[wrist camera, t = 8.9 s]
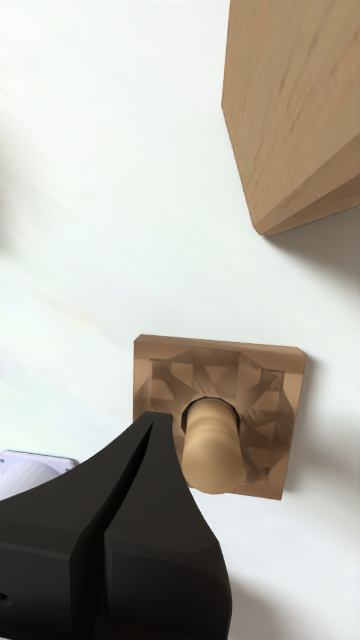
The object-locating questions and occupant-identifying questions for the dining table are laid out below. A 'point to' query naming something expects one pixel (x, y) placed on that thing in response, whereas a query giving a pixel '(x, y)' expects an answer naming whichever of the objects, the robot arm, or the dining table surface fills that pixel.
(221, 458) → the peg
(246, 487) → the board
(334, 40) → the wooden block
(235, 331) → the dining table surface
